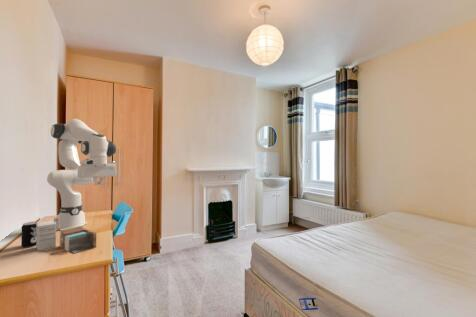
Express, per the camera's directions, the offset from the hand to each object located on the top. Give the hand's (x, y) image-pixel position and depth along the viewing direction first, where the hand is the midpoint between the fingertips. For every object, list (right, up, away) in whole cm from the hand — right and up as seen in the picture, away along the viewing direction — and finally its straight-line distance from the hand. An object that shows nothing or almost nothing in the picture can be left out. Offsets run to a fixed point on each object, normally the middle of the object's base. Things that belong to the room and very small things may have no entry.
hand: (98, 184), depth 130 cm
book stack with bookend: (-2, -31, -14) cm, 34 cm away
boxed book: (-2, -31, -15) cm, 35 cm away
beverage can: (-29, -31, -12) cm, 44 cm away
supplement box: (-18, -31, -14) cm, 39 cm away
